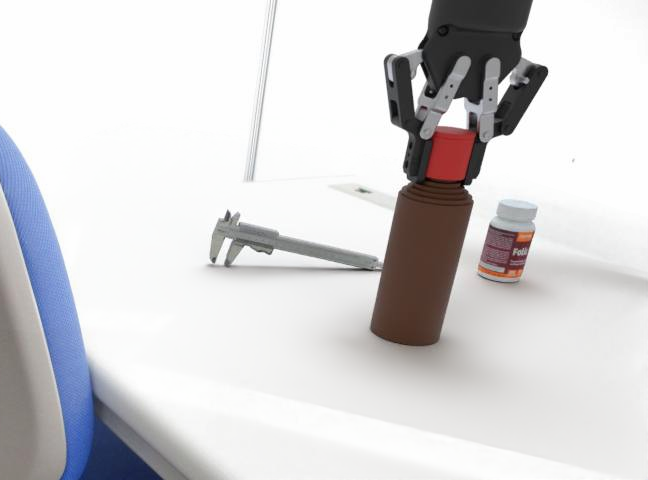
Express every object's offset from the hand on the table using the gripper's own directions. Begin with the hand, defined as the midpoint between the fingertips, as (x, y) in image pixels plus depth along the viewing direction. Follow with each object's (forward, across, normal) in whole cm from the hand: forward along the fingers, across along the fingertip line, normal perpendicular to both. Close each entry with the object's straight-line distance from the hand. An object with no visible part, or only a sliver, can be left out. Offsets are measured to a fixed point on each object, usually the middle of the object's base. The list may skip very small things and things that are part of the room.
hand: (438, 181), depth 76 cm
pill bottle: (+14, +18, +16) cm, 29 cm away
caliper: (+14, -5, +18) cm, 24 cm away
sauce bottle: (+14, 0, 0) cm, 14 cm away
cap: (-1, 0, 0) cm, 1 cm away
